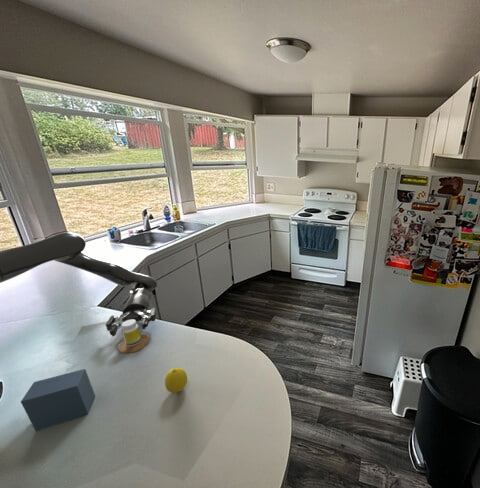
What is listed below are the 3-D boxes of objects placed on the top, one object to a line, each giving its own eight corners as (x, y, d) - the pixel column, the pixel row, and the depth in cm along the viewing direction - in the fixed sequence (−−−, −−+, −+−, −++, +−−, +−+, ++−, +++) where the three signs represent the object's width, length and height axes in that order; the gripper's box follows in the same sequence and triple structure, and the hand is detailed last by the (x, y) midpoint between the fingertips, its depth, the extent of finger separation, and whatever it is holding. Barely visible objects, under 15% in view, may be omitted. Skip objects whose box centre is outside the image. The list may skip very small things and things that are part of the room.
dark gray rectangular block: (35, 431, 62) (20, 401, 58) (47, 410, 67) (33, 381, 63) (88, 414, 66) (76, 386, 63) (95, 395, 71) (85, 368, 68)
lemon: (162, 396, 72) (157, 375, 69) (177, 380, 77) (173, 360, 74) (179, 401, 70) (174, 379, 68) (193, 384, 75) (189, 364, 73)
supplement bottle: (144, 340, 91) (139, 321, 88) (129, 348, 87) (124, 328, 84) (137, 335, 93) (132, 317, 90) (123, 343, 89) (117, 323, 87)
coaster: (115, 356, 85) (115, 354, 84) (121, 339, 92) (121, 338, 92) (147, 348, 89) (147, 346, 88) (150, 333, 96) (150, 331, 96)
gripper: (112, 302, 95) (99, 326, 82) (156, 294, 102) (150, 316, 88) (117, 318, 98) (105, 345, 84) (159, 310, 104) (155, 333, 91)
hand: (128, 330), depth 86 cm, fingers open, 8 cm apart
